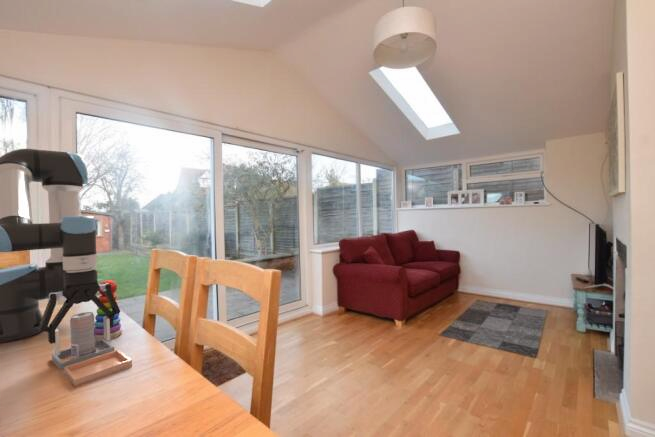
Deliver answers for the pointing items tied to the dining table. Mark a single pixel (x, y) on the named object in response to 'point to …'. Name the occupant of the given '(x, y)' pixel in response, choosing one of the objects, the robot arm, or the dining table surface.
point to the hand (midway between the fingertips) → (83, 346)
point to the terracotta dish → (96, 367)
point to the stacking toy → (99, 323)
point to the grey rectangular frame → (67, 352)
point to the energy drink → (82, 334)
